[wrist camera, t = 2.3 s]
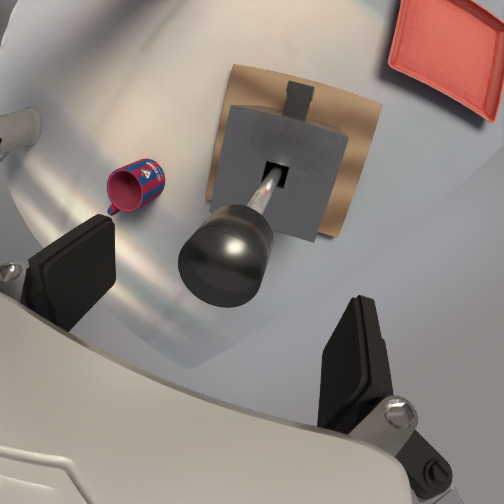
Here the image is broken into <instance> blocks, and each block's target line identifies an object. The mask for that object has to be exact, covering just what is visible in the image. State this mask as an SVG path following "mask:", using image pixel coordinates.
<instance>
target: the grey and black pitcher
mask: <svg viewBox="0 0 504 504" xmlns="http://www.w3.org/2000/svg"><path fill="white" fill-rule="evenodd" d="M40 133H41V119H40V115H39V113H38V111H37V110H36V109H35V108H34V107H29V108H27V109H25V110H23V111H19V112H14V113H10V114H6V115H2V116H0V155H1V154H4V153H5V154H4V155H3V156H2V157H1V158H0V162H1V161H2V160H3V159H4V158H5V157H6V156H7V154H8V153H9V152H10V151H12V150H15V149H18V148H21V147H24V146H33V145H35V144H36V142H37V141H38V139H39V136H40Z"/></svg>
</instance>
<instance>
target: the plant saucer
mask: <svg viewBox="0 0 504 504" xmlns="http://www.w3.org/2000/svg"><path fill="white" fill-rule="evenodd" d="M388 65H389V66H390V67H391V68H392V69H394V70H396V71H399V72H401V73H403V74H405V75H408V76H410V77H412V78H414V79H416V80H418V81H420V82H422V83H424V84H426V85H428V86H430V87H432V88H434V89H436V90H438V91H440V92H442V93H443V94H445V95H447V96H449V97H451V98H452V99H454V100H456V101H457V102H459V103H461V104H462V105H464V106H466V107H467V108H469V109H470V110H472V111H474V112H475V113H477V114H478V115H480V116H481V117H483V118H484V119H486V120H487V121H488V122H490V123H495V122H496V119H497V115H498V111H499V107H500V103H501V98H502V93H503V89H504V22H503V21H502V20H500V19H499V18H498V17H496V16H495V15H494V14H492V13H491V12H489V11H488V10H486V9H485V8H484V7H482V6H481V5H479V4H478V3H476V2H475V1H473V0H401V5H400V10H399V15H398V19H397V25H396V29H395V33H394V37H393V42H392V46H391V50H390V54H389V58H388Z"/></svg>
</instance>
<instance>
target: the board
mask: <svg viewBox="0 0 504 504" xmlns="http://www.w3.org/2000/svg"><path fill="white" fill-rule="evenodd" d="M289 80H290V81H294V82H298V83H302V84H305V85H309V86H313V87H315V91H314V96H313V100H312V101H310V105H309V108H308V112H307V116H306V117H307V118H311V119H314V120H317V121H321V122H324V123H327V124H330V125H333V126H336V127H338V128H339V129H340V130H341V131H343V132H344V133H345V134H346V135H348V136H349V140H348V143H347V146H346V149H345V153H344V156H343V159H342V162H341V165H340V168H339V171H338V175H337V178H336V181H335V184H334V187H333V190H332V193H331V196H330V199H329V202H328V205H327V207H326V210H325V213H324V216H323V219H322V222H321V225H320V228H319V230H318V232H320V233H323V234H326V235H330V236H333V237H336V238H338V235H339V233H340V230H341V227H342V225H343V222H344V220H345V217H346V214H347V212H348V209H349V206H350V203H351V201H352V198H353V195H354V192H355V189H356V187H357V184H358V181H359V178H360V175H361V172H362V169H363V166H364V163H365V160H366V157H367V154H368V151H369V148H370V145H371V141H372V138H373V135H374V132H375V129H376V125H377V122H378V119H379V115H380V112H381V108H382V104H380V103H377V102H375V101H372V100H369V99H367V98H364V97H361V96H358V95H355V94H353V93H350V92H347V91H344V90H341V89H337V88H334V87H331V86H328V85H324V84H321V83H317V82H314V81H310V80H307V79H303V78H299V77H295V76H291V75H287V74H283V73H278V72H274V71H269V70H264V69H259V68H254V67H248V66H242V65H236V64H233V67H232V71H231V75H230V80H229V84H228V88H227V93H226V97H225V101H224V106H223V111H222V115H221V120H220V125H219V129H218V134H217V139H216V144H215V149H214V155H213V160H212V165H211V170H210V176H209V181H208V187H207V193H206V198H205V199H208V200H212V194H213V189H214V184H215V178H216V173H217V168H218V163H219V158H220V153H221V148H222V143H223V138H224V133H225V129H226V124H227V119H228V115H229V110H230V106H231V105H257V106H265V107H269V108H273V109H277V110H281V111H283V109H284V105H285V101H286V97H287V93H286V88H287V85H288V81H289Z"/></svg>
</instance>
